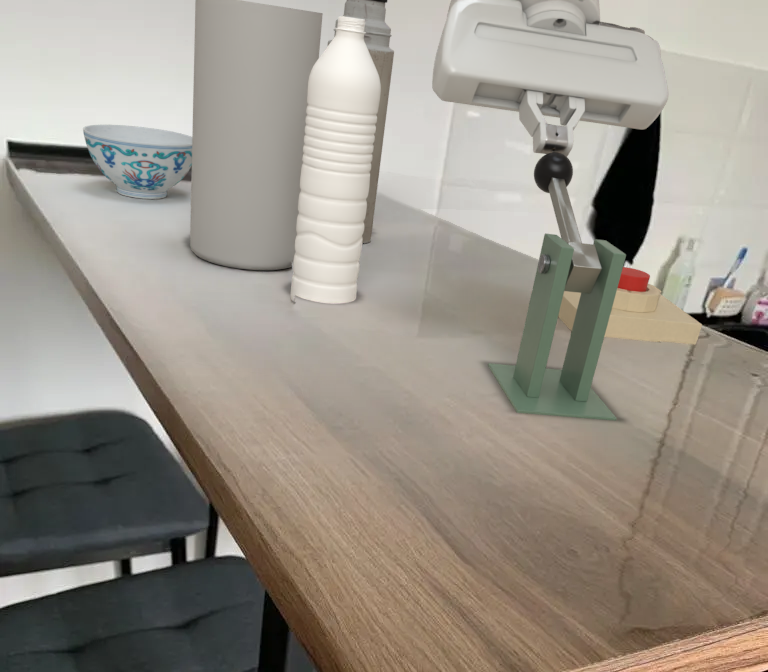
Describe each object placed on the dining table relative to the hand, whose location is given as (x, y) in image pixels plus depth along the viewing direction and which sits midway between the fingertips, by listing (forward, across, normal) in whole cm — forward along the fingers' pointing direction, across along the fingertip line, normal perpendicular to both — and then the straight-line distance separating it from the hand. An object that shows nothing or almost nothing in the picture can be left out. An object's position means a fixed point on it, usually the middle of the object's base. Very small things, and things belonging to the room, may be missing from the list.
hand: (553, 150), depth 72 cm
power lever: (+8, 0, 0) cm, 8 cm away
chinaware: (-25, +40, -51) cm, 70 cm away
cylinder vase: (-5, +25, -30) cm, 40 cm away
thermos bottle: (-16, +13, -42) cm, 47 cm away
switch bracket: (+21, 0, -4) cm, 21 cm away
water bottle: (+5, +17, -20) cm, 27 cm away
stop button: (+2, -14, -16) cm, 22 cm away
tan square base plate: (+6, -14, -20) cm, 25 cm away
